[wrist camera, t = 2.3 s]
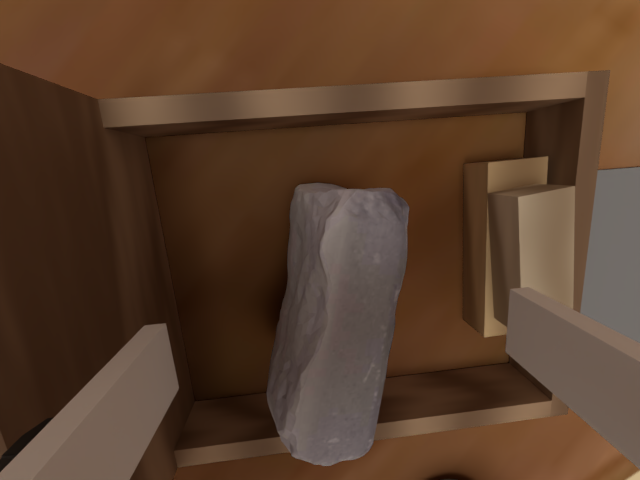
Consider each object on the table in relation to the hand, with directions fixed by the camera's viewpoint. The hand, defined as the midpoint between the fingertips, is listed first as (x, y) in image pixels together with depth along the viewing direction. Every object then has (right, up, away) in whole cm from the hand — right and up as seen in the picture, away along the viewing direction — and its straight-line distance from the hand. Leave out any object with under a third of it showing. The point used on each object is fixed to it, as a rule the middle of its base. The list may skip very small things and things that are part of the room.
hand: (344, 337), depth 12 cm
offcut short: (+11, +3, +7) cm, 13 cm away
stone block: (-1, +2, +9) cm, 9 cm away
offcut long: (+11, +4, +10) cm, 15 cm away
